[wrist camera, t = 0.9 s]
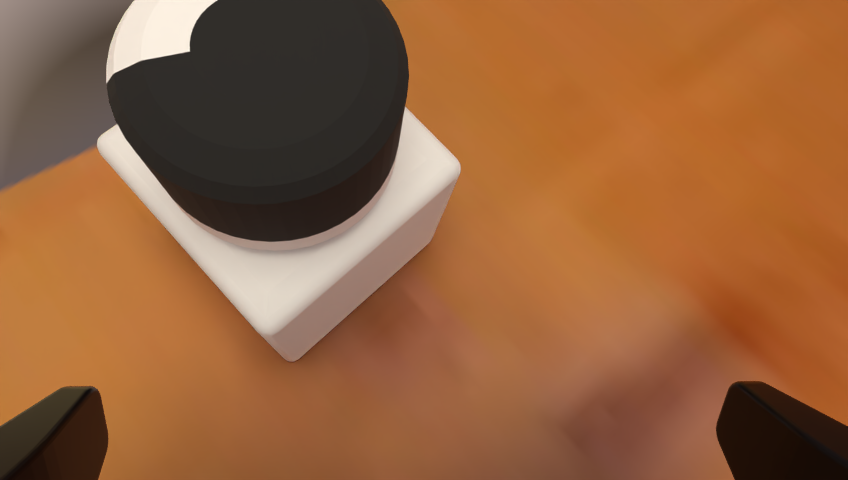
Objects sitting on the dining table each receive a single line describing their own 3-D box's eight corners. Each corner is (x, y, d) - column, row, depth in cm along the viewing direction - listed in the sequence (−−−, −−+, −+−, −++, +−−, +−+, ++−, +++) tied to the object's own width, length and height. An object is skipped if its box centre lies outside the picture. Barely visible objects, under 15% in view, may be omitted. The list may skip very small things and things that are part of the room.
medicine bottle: (435, 239, 24) (512, 65, 12) (291, 367, 22) (225, 301, 10) (313, 112, 25) (280, -157, 13) (165, 224, 23) (-23, 20, 11)
